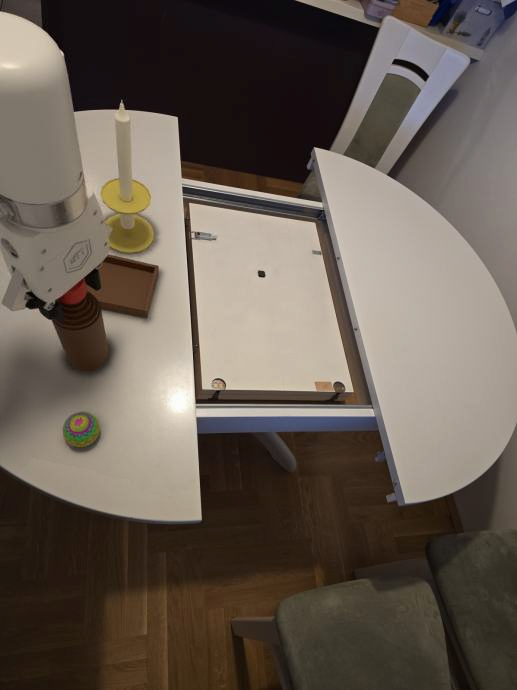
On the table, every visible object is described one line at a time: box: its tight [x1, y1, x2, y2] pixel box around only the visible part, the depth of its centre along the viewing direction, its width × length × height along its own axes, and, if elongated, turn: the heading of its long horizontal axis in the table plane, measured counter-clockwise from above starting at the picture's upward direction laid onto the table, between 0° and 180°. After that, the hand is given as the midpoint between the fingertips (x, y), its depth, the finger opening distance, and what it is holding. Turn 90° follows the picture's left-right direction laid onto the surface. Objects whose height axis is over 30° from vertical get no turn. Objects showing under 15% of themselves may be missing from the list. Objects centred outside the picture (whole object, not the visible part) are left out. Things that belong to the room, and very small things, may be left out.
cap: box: [57, 278, 87, 304], centre depth 47 cm, size 4×4×3 cm
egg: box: [62, 411, 101, 448], centre depth 56 cm, size 5×5×6 cm
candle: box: [100, 99, 155, 254], centre depth 66 cm, size 10×10×27 cm
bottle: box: [50, 291, 110, 372], centre depth 56 cm, size 6×6×20 cm
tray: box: [86, 253, 160, 319], centre depth 70 cm, size 13×10×2 cm
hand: (72, 298), depth 50 cm, fingers open, 5 cm apart
